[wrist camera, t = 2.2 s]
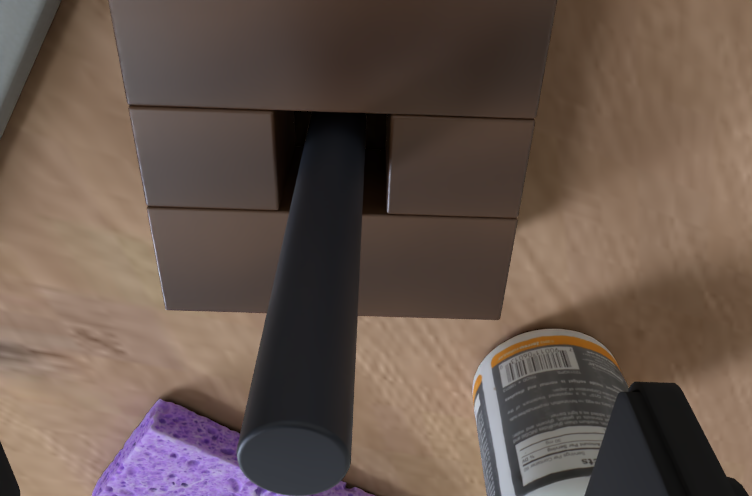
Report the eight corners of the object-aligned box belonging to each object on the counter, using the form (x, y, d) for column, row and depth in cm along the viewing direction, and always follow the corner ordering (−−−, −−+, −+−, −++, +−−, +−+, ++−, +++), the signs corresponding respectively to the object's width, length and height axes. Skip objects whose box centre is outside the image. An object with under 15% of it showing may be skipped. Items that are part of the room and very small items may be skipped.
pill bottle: (572, 437, 28) (650, 699, 20) (447, 405, 27) (475, 668, 19) (644, 342, 25) (771, 605, 17) (507, 303, 24) (571, 563, 16)
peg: (313, 78, 20) (230, 422, 9) (367, 79, 20) (351, 425, 9) (314, 128, 20) (239, 497, 10) (366, 130, 20) (349, 500, 10)
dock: (151, -82, 17) (96, -53, 14) (529, -68, 17) (564, -36, 14) (196, 235, 23) (164, 310, 19) (483, 245, 23) (500, 320, 20)
